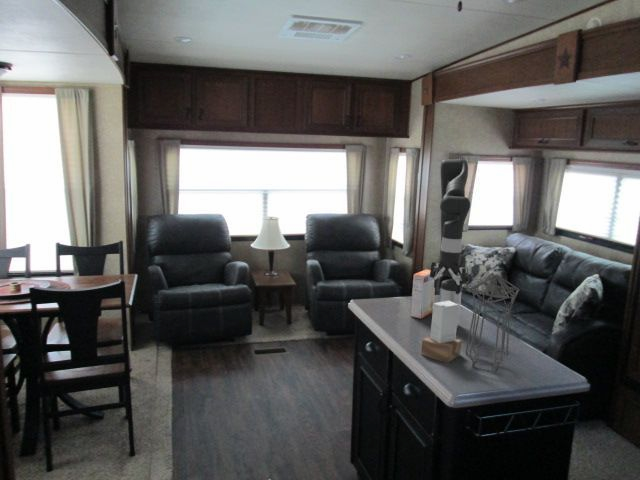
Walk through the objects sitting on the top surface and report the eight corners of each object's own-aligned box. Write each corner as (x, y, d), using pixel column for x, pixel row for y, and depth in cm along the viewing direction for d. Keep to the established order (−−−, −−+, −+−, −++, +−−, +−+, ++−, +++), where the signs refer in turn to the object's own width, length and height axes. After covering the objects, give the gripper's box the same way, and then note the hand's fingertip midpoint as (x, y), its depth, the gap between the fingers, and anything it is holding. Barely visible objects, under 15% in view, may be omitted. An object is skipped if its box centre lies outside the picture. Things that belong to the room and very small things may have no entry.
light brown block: (434, 347, 211) (435, 332, 210) (460, 354, 204) (461, 340, 203) (421, 354, 203) (422, 339, 202) (447, 362, 196) (448, 347, 195)
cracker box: (422, 309, 259) (425, 268, 256) (433, 312, 256) (437, 270, 252) (409, 316, 248) (413, 273, 244) (421, 319, 245) (425, 275, 241)
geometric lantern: (469, 354, 205) (479, 267, 199) (511, 364, 198) (522, 274, 191) (458, 368, 192) (468, 275, 186) (503, 379, 184) (514, 282, 178)
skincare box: (445, 336, 207) (449, 299, 204) (456, 341, 202) (460, 304, 199) (429, 339, 203) (432, 302, 200) (439, 344, 198) (443, 306, 195)
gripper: (473, 251, 194) (468, 293, 197) (438, 245, 203) (434, 285, 206) (464, 254, 189) (460, 297, 192) (429, 247, 198) (425, 289, 201)
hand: (447, 291), depth 199 cm, fingers open, 8 cm apart
